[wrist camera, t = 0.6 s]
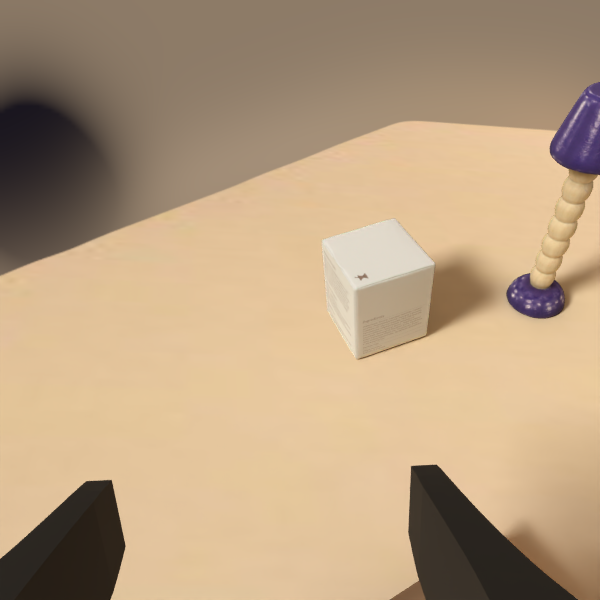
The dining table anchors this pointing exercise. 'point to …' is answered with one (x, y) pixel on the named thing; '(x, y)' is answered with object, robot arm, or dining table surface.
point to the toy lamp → (563, 206)
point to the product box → (377, 286)
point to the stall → (411, 593)
